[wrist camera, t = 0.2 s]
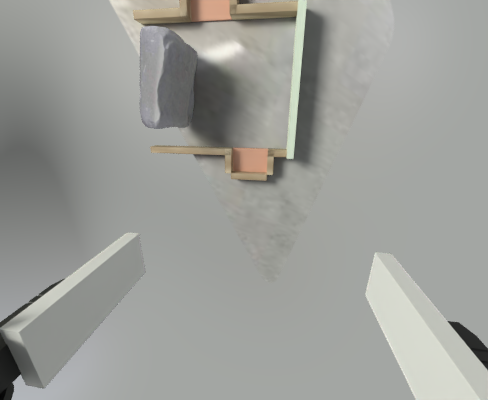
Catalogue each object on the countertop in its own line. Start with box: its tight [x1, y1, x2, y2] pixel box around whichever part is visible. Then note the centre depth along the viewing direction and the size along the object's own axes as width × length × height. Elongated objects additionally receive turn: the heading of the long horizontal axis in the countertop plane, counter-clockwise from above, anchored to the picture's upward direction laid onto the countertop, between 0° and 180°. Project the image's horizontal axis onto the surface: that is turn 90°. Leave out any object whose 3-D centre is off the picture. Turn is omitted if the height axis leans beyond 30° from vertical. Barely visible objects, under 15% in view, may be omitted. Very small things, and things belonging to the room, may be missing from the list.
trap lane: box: [133, 0, 307, 181], centre depth 34 cm, size 28×24×4 cm
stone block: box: [140, 26, 197, 129], centre depth 32 cm, size 12×5×10 cm, turn 168°
